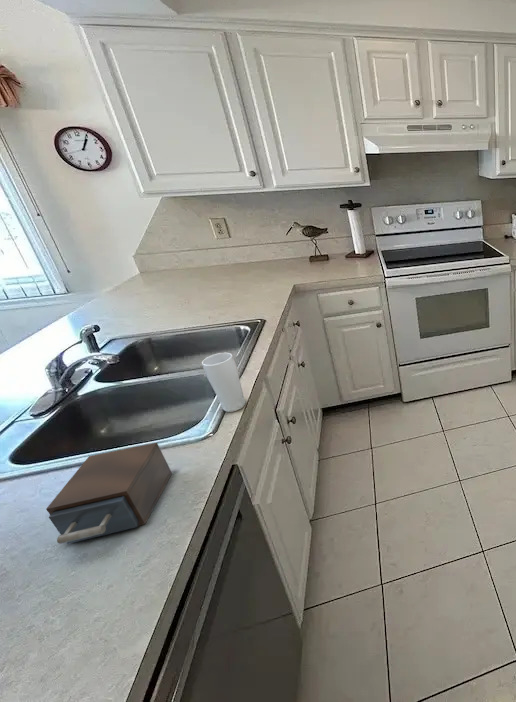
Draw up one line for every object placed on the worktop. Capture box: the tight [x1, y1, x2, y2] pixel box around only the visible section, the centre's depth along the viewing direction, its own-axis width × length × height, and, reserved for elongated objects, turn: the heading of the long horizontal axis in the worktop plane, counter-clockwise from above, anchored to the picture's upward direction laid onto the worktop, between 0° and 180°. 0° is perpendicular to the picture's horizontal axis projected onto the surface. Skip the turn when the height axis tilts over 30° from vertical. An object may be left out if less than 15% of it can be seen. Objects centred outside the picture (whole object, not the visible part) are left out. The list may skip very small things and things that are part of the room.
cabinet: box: [45, 442, 173, 527], centre depth 80 cm, size 14×12×9 cm
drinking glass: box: [201, 352, 246, 413], centre depth 107 cm, size 7×7×15 cm
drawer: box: [48, 495, 139, 545], centre depth 77 cm, size 16×10×7 cm, turn 18°
